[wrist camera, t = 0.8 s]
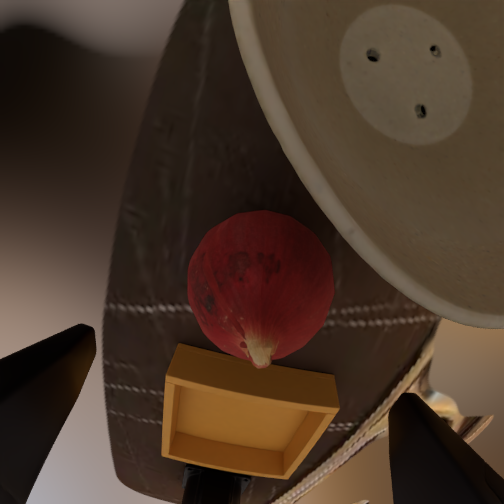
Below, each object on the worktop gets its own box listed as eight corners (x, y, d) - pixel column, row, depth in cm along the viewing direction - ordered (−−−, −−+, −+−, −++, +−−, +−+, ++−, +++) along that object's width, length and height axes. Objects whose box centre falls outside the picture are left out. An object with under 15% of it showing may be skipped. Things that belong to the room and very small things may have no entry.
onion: (188, 263, 17) (131, 366, 9) (243, 169, 15) (211, 220, 7) (280, 315, 18) (280, 433, 10) (343, 233, 16) (394, 329, 8)
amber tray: (287, 451, 23) (287, 479, 21) (169, 428, 23) (161, 456, 20) (334, 374, 19) (340, 408, 16) (178, 342, 19) (165, 375, 16)
